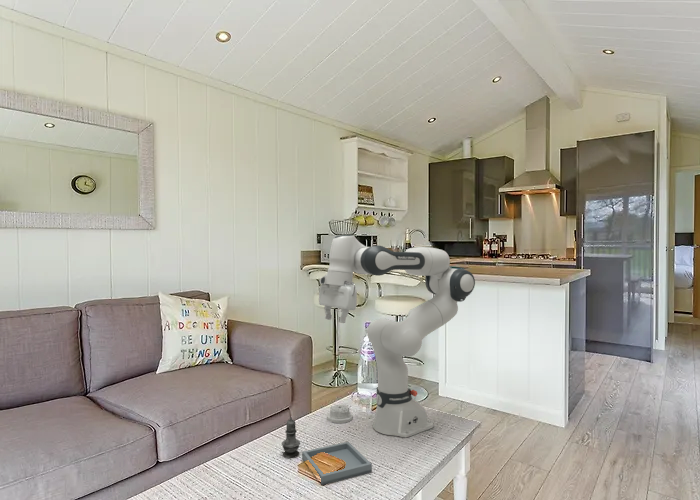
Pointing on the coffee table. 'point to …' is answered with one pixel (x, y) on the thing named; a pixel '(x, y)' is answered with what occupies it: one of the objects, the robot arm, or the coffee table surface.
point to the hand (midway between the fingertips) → (334, 321)
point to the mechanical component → (339, 414)
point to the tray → (346, 452)
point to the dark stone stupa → (290, 441)
